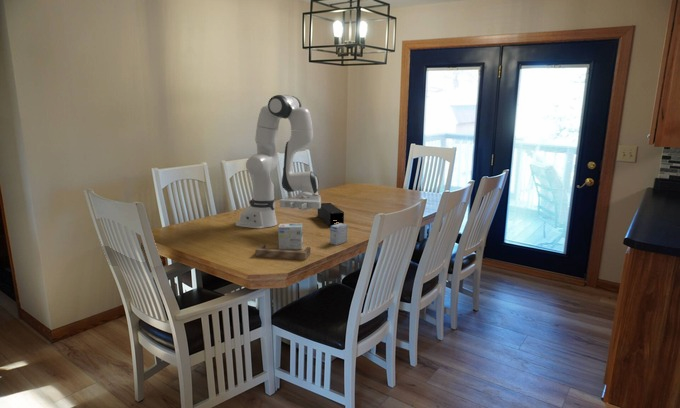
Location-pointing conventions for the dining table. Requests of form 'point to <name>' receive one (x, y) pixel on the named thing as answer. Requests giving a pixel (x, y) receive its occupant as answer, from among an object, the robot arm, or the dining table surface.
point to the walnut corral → (282, 253)
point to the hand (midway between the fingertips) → (296, 206)
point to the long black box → (330, 214)
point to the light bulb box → (290, 236)
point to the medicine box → (338, 233)
